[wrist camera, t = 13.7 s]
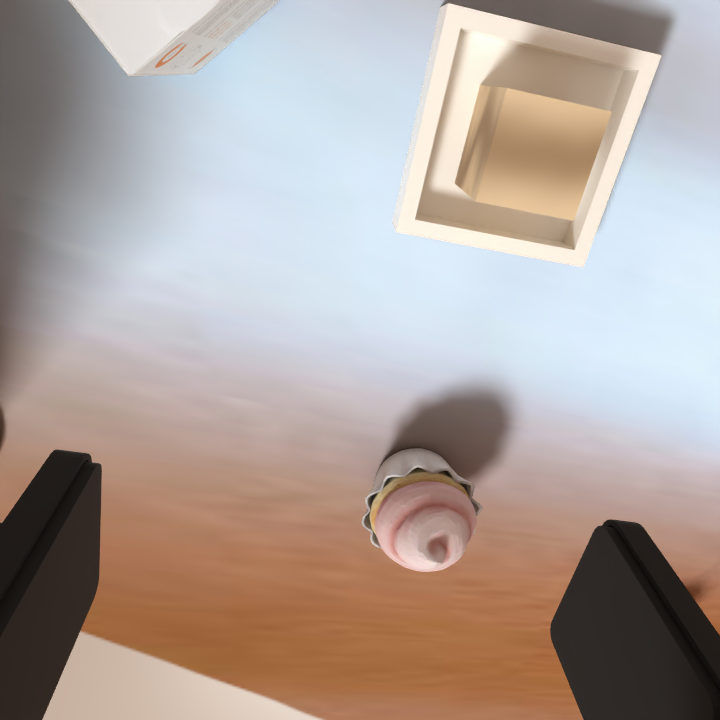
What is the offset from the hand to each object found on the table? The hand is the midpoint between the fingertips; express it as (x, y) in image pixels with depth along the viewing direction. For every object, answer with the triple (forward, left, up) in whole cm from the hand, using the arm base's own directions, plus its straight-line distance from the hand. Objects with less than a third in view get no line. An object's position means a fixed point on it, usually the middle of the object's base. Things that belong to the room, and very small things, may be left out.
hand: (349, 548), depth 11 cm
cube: (+6, -11, -32) cm, 34 cm away
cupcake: (-21, -11, -32) cm, 40 cm away
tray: (+6, -11, -32) cm, 35 cm away
